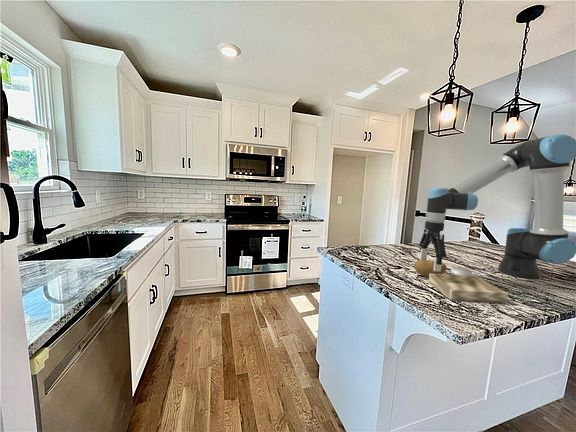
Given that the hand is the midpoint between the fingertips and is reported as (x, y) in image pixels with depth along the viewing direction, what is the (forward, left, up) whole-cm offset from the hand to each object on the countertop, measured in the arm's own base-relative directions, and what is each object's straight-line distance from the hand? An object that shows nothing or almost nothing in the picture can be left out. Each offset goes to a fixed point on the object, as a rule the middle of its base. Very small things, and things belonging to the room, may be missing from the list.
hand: (429, 266), depth 115 cm
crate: (-6, +16, -5) cm, 18 cm away
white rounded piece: (-14, 0, -5) cm, 15 cm away
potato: (0, 0, -5) cm, 5 cm away
